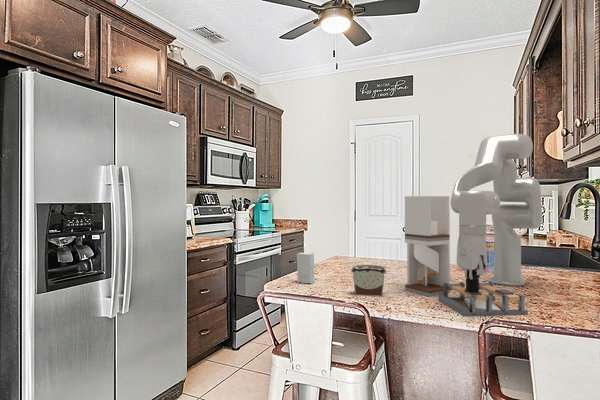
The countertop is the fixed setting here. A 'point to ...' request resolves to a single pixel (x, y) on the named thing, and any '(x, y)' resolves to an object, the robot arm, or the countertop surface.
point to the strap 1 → (463, 291)
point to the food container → (368, 279)
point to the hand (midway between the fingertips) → (472, 291)
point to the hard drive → (480, 305)
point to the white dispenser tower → (427, 244)
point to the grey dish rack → (465, 310)
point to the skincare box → (305, 267)
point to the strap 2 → (498, 291)
